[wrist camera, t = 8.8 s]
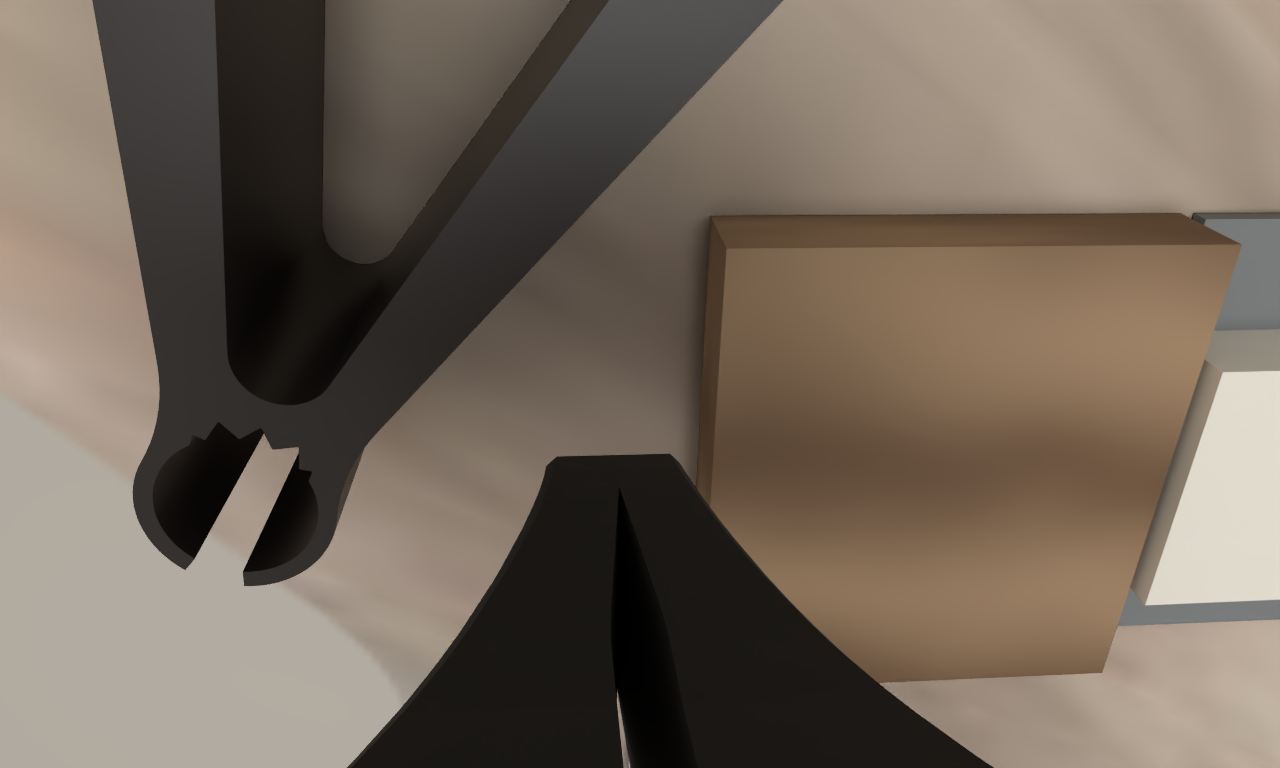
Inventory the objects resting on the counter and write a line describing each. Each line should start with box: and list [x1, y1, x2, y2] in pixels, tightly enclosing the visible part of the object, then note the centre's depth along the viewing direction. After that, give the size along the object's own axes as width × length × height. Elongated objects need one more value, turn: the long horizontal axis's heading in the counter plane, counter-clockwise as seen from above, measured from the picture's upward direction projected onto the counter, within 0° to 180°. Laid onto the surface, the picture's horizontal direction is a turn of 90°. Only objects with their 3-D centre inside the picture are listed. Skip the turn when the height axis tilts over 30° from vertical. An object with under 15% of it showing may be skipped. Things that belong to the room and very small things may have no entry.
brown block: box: [696, 214, 1242, 683], centre depth 21 cm, size 11×10×2 cm
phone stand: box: [93, 0, 783, 586], centre depth 15 cm, size 9×6×12 cm
